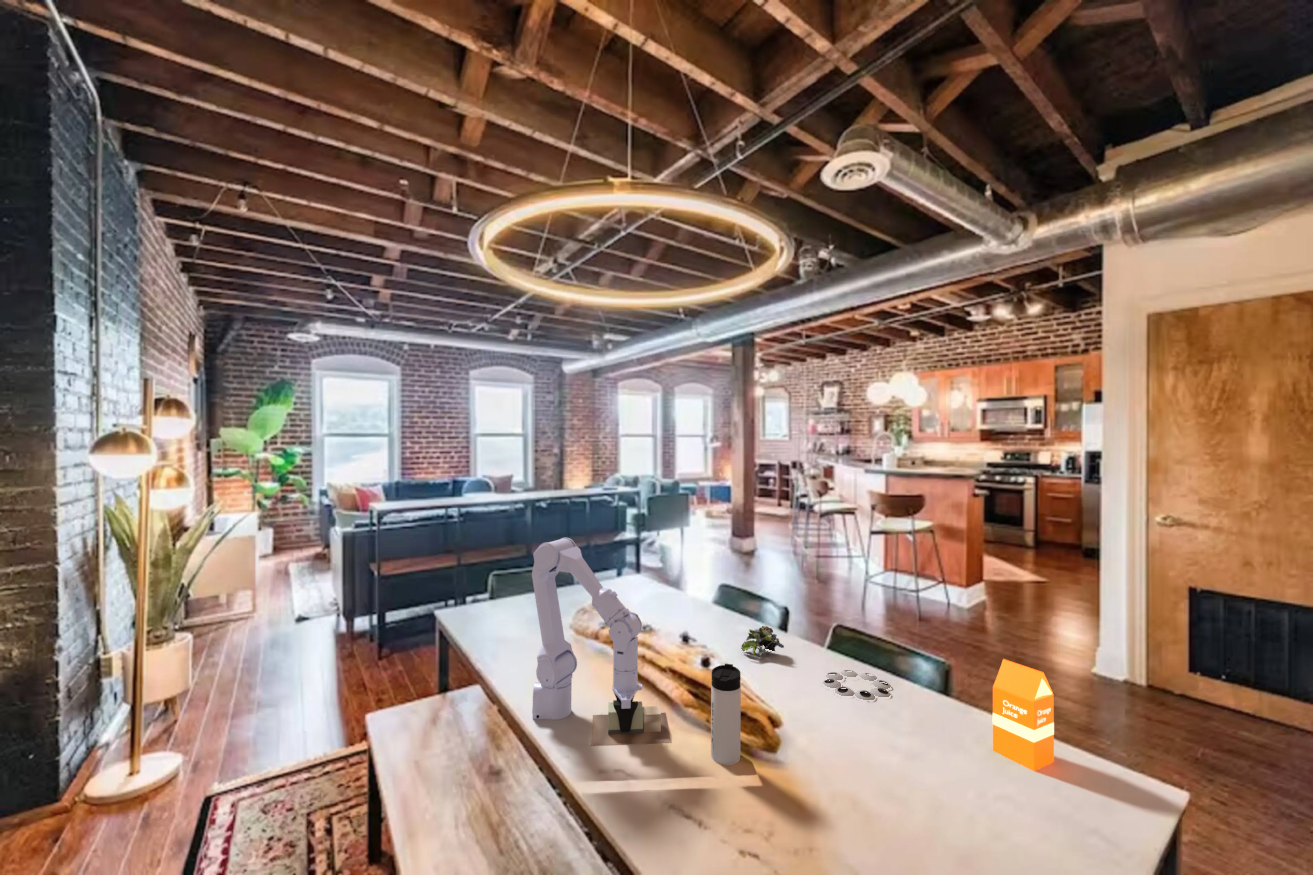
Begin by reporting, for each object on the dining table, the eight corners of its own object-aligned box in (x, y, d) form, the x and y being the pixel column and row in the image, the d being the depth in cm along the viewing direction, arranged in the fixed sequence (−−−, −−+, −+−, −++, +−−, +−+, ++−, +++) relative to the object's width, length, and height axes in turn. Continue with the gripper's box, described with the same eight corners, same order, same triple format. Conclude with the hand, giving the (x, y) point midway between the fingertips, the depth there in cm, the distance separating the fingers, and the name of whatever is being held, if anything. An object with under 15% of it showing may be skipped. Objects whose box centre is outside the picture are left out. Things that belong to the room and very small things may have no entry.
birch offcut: (643, 731, 129) (643, 714, 129) (642, 723, 133) (642, 706, 133) (660, 731, 129) (660, 714, 129) (659, 722, 133) (659, 705, 133)
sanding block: (608, 734, 128) (608, 712, 128) (608, 723, 133) (608, 702, 133) (642, 732, 128) (643, 711, 128) (641, 722, 133) (641, 701, 133)
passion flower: (767, 669, 183) (789, 641, 182) (758, 674, 173) (782, 645, 172) (741, 644, 188) (762, 616, 187) (731, 648, 178) (754, 619, 177)
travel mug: (743, 757, 121) (743, 665, 122) (737, 774, 115) (737, 677, 115) (714, 751, 123) (715, 661, 124) (707, 768, 117) (708, 672, 117)
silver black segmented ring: (872, 711, 144) (872, 703, 144) (807, 685, 159) (807, 678, 159) (907, 689, 157) (907, 682, 157) (843, 668, 172) (843, 661, 172)
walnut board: (590, 752, 123) (590, 745, 123) (592, 720, 137) (592, 714, 137) (671, 749, 124) (671, 742, 124) (665, 718, 138) (665, 712, 138)
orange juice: (1033, 771, 117) (1033, 675, 117) (992, 750, 125) (991, 661, 125) (1054, 761, 120) (1054, 668, 121) (1012, 742, 128) (1012, 655, 129)
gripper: (644, 679, 124) (643, 740, 123) (640, 654, 138) (640, 709, 138) (612, 680, 123) (612, 742, 123) (612, 655, 138) (612, 710, 137)
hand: (625, 725), depth 130 cm, fingers closed on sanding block, 5 cm apart
